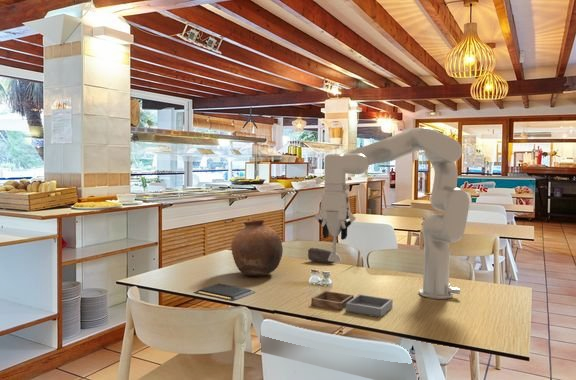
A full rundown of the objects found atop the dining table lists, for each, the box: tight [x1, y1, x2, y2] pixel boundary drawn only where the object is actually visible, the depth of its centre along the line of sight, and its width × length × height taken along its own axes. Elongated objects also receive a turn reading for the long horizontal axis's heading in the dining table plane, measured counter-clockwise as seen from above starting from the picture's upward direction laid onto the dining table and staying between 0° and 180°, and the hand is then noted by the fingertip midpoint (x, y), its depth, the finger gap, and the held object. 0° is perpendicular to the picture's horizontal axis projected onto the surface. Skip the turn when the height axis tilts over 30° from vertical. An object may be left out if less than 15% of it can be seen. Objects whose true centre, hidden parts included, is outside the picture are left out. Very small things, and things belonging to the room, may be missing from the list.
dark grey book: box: [192, 283, 256, 302], centre depth 188 cm, size 20×2×15 cm
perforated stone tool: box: [307, 247, 335, 264], centre depth 243 cm, size 15×5×7 cm, turn 61°
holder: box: [311, 290, 355, 311], centre depth 175 cm, size 12×12×2 cm
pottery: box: [230, 218, 284, 277], centre depth 216 cm, size 23×23×25 cm
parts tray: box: [345, 294, 394, 318], centre depth 168 cm, size 13×13×3 cm
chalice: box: [326, 211, 342, 263], centre depth 173 cm, size 7×7×18 cm
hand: (334, 237), depth 173 cm, fingers closed on chalice, 6 cm apart
